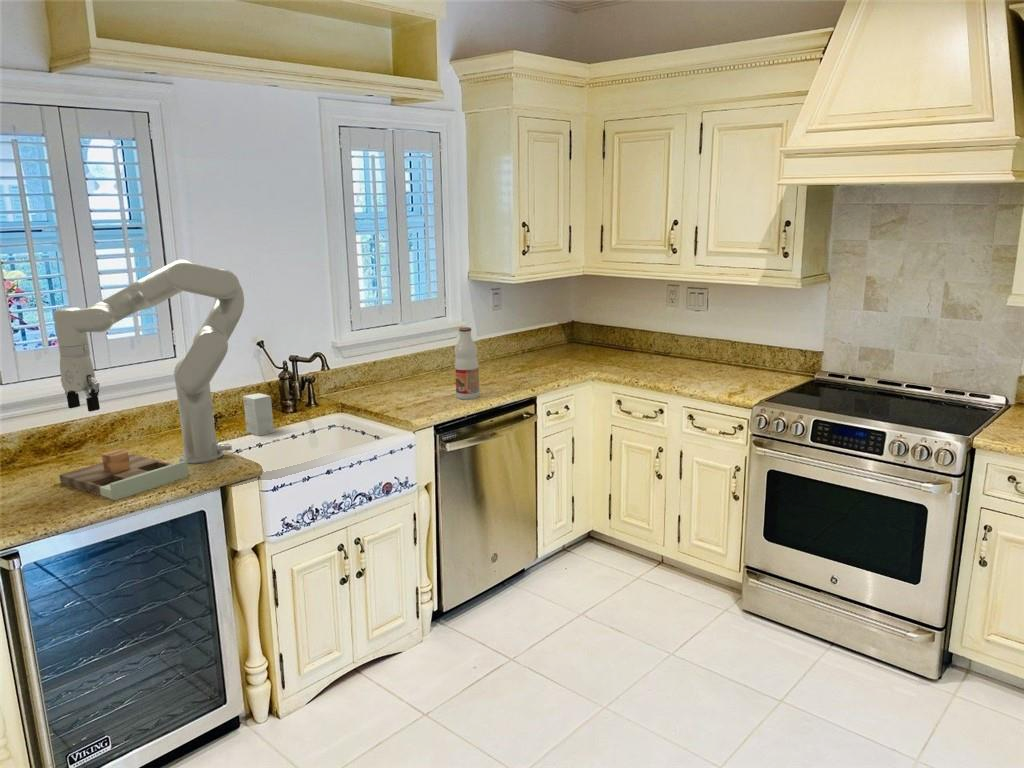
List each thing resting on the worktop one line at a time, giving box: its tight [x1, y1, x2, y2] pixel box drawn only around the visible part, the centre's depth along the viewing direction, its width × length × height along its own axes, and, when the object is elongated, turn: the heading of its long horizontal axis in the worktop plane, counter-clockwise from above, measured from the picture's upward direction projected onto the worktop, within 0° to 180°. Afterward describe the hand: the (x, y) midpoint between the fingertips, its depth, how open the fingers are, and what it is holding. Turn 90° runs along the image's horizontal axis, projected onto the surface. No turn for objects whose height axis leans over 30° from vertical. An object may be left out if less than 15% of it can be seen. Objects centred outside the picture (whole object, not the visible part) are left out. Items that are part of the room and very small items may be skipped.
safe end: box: [100, 461, 190, 501], centre depth 214 cm, size 7×22×4 cm, turn 147°
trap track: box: [59, 453, 172, 496], centre depth 222 cm, size 21×22×2 cm
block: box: [101, 449, 130, 473], centre depth 221 cm, size 5×5×5 cm
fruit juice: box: [454, 326, 480, 400], centre depth 306 cm, size 9×9×28 cm
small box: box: [242, 392, 275, 437], centre depth 265 cm, size 8×6×13 cm
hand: (84, 408), depth 224 cm, fingers open, 9 cm apart
